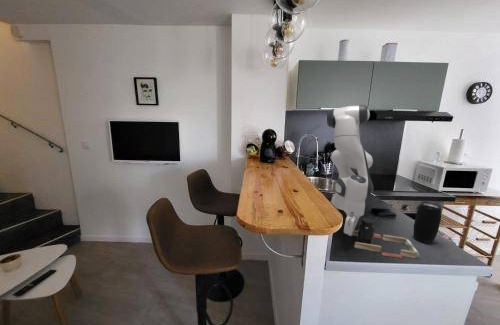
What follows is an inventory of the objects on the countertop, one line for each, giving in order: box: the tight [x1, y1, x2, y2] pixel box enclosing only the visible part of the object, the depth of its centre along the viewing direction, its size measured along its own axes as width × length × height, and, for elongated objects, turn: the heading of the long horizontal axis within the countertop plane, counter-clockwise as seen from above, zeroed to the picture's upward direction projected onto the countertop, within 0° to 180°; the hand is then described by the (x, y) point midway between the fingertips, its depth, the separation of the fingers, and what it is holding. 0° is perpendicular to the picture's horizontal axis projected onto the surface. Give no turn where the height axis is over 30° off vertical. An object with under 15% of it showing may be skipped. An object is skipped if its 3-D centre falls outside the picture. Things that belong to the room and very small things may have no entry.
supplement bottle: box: [356, 217, 376, 245], centre depth 102 cm, size 7×7×12 cm
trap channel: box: [352, 229, 420, 260], centre depth 102 cm, size 18×26×2 cm
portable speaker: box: [413, 200, 442, 245], centre depth 105 cm, size 9×9×20 cm
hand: (350, 234), depth 105 cm, fingers closed
